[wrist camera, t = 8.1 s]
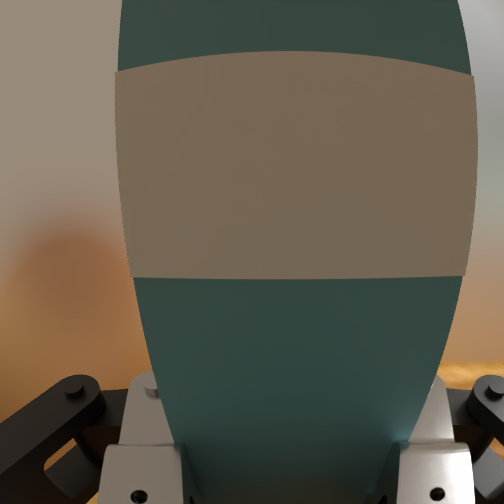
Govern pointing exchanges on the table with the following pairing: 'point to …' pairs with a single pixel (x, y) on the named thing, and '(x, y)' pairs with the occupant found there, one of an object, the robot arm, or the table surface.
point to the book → (295, 228)
